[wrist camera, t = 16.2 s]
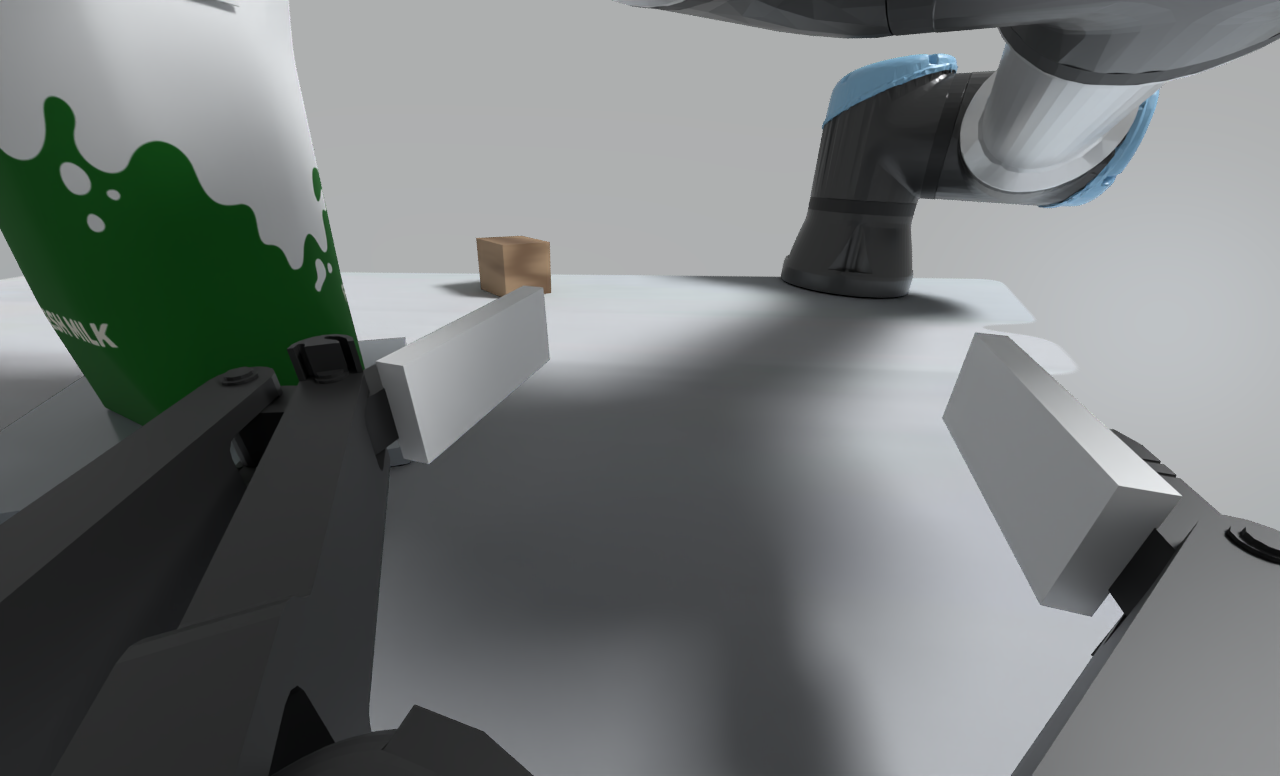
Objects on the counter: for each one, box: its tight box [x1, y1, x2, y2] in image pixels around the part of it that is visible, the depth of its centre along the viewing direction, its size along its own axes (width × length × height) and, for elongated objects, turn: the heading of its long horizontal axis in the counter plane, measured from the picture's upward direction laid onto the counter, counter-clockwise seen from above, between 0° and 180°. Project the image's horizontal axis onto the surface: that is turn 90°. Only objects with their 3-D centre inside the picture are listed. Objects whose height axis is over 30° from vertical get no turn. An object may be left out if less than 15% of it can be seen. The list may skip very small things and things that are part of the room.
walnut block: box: [476, 236, 551, 297], centre depth 45 cm, size 5×5×5 cm
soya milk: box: [0, 0, 365, 426], centre depth 17 cm, size 9×9×20 cm
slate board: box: [0, 337, 410, 524], centre depth 21 cm, size 14×14×1 cm
